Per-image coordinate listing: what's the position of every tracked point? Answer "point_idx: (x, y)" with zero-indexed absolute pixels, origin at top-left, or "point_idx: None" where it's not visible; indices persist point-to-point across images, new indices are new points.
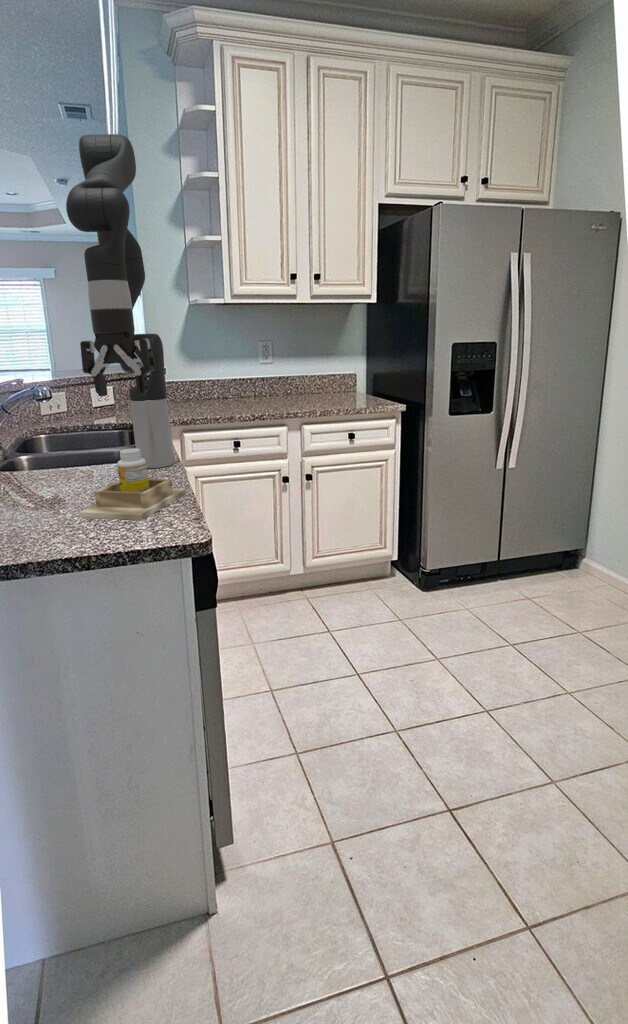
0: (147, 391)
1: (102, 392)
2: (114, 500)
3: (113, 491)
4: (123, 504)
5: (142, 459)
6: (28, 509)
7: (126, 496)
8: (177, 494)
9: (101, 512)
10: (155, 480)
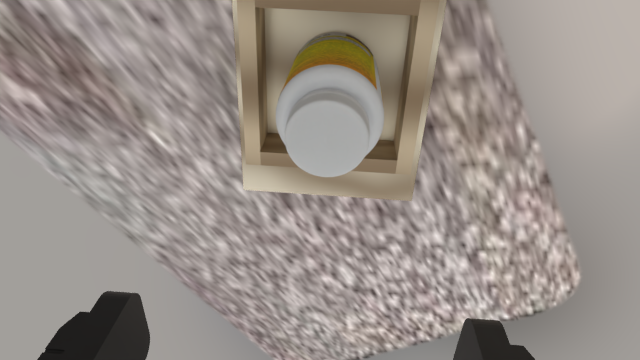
0: (523, 349)
1: (138, 355)
2: None
3: None
4: None
5: (375, 118)
6: (55, 130)
7: None
8: None
9: (300, 188)
10: (378, 11)
